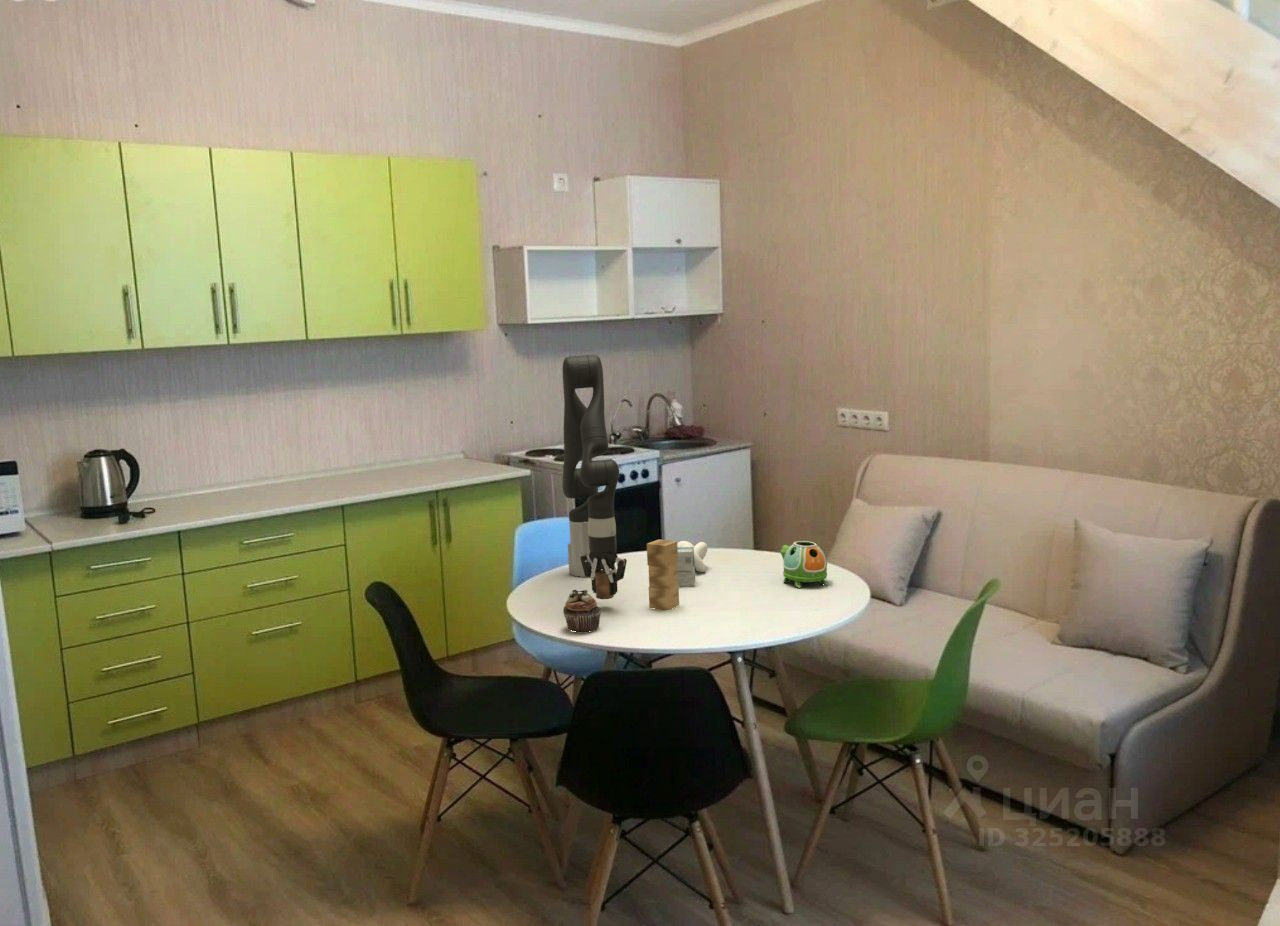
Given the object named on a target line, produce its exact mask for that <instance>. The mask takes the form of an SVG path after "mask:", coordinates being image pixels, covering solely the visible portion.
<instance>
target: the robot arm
mask: <svg viewBox="0 0 1280 926" xmlns="http://www.w3.org/2000/svg"><path fill="white" fill-rule="evenodd" d="M562 383H563V385H562V386H563V387H562V388H563V403H564V404H563V405H564V407H563V449H564V451H563V452H564V454H563V457H564V458H563V468H562V470H563V472H562V481H561V482H562V492H563V495H564V497H566V498H568V499H586V498H587V499H586V501H585V502H584V503H582V504H581V505H580V506H579V505H578V506H576V507H574V508H572V509H570V511H569V512H568V520H569V521H568V523H569V525H568V526H569V541H570V543H568V544H567V554H568V555H567V556H568V574H569V575H572V576H574V577H578V576H580V577H579V578H581V577H582V578H589V579H590V580H591V581H590V582H591V590H592V593H593V594H596V582H595V572H597V571H600V570H605V571H606V574H607V575H608V577H609V580H610V583H609V586H610V595H612V596H613V595H614V596H616V594H617V593H618V582H619V581H621V580H623V579H624V577H625V572H626V566H627V562H628V561H627V559H626V558H620V557H618V554H617V547H618V546H617V525H616V519H615V495H616V489H617V485H618V482H619V478H620V467H619V464H618V463H617V461H615V460H614V459H599V460H593V459H595V458H597V457H600V456H602V455H604V454H606V453H608V451H609V440H608V435H607V433H608V432H607V426H606V419H605V417H606V416H605V387H604V386H605V385H604V368H603V364H602V360H601V358H600V356H599V355H597V354H583V355H581V354H580V355H571V356H567V357H565V358H564V360H563V362H562ZM590 388H592V396H591V399H590V401H589V404H588V406H586V405H585V404H584V403H583V402H582V400H581V399H580V397H579V395H578V394H577V392H576V390H577V389H578V390H579V389H590ZM580 461H581V464H580V467H579V468H578V467H577V465H578V464H579V462H580ZM599 487H605V488H604V489H603V490H602V491H601V492H599Z"/></svg>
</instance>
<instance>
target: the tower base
mask: <svg viewBox="0 0 1280 926" xmlns="http://www.w3.org/2000/svg"><path fill="white" fill-rule="evenodd" d="M679 588H680V587H679V584H676V585H675V586H674V587H672V588H671V589H661V588H649V587H648V603H649V604H648V605H649V607H648V608H655V609H654V610H657V609H661V610H660V611H665V610H670V609H671V610H673V609H675V608H677V607H679V606H680V594H679V593H680V592H679V590H680V589H679ZM678 605H679V606H678ZM676 606H677V607H676ZM674 607H675V608H674ZM672 608H673V609H672ZM671 610H670V611H671Z"/></svg>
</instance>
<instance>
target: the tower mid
mask: <svg viewBox="0 0 1280 926" xmlns="http://www.w3.org/2000/svg"><path fill="white" fill-rule="evenodd" d="M676 584H678V576H677V564H674V565H672V566H669V567H667V568H664V567H656V566H648V589H649V588H661V589H671V588H672V587H674V586H675V585H676Z"/></svg>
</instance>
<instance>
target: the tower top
mask: <svg viewBox="0 0 1280 926" xmlns="http://www.w3.org/2000/svg"><path fill="white" fill-rule="evenodd" d="M677 543H678V541H677V540H669V539H656V540H654V541H650V542H648V543H646V557H647V559H646V561H647V566H648V567H649V566H656V567H664V568H667V567H669V566H672V565H674V564H677V563H678V546H677Z"/></svg>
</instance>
